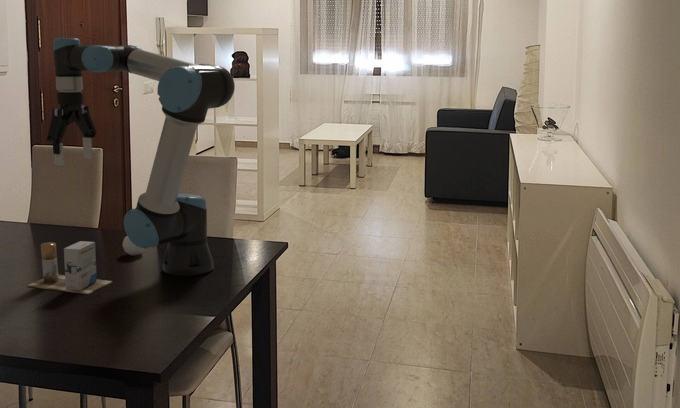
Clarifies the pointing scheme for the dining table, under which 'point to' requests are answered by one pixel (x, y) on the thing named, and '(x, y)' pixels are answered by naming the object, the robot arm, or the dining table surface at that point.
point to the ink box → (80, 265)
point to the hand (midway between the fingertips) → (74, 161)
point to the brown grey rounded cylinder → (49, 262)
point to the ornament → (131, 247)
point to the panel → (61, 287)
